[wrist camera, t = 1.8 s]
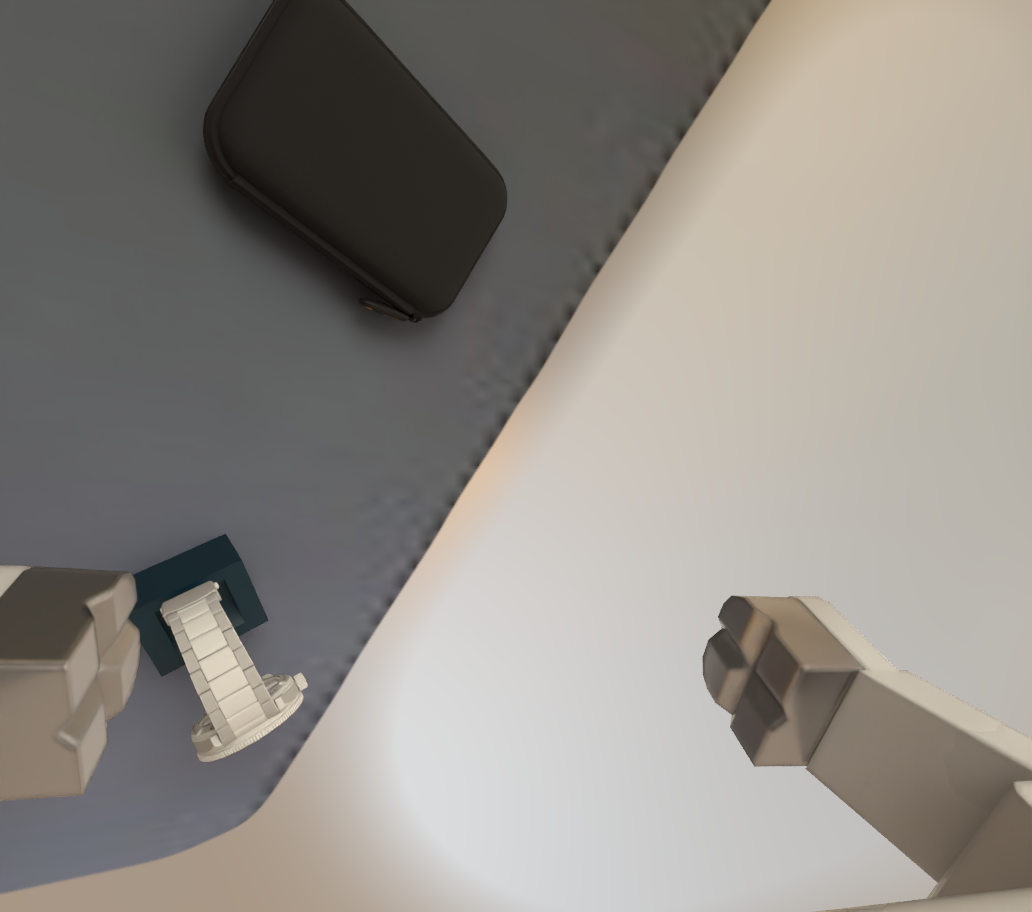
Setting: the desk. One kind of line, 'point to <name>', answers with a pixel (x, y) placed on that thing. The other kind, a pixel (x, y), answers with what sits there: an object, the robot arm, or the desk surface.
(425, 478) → the desk surface
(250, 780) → the desk surface
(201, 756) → the watch
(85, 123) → the desk surface
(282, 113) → the carrying case
